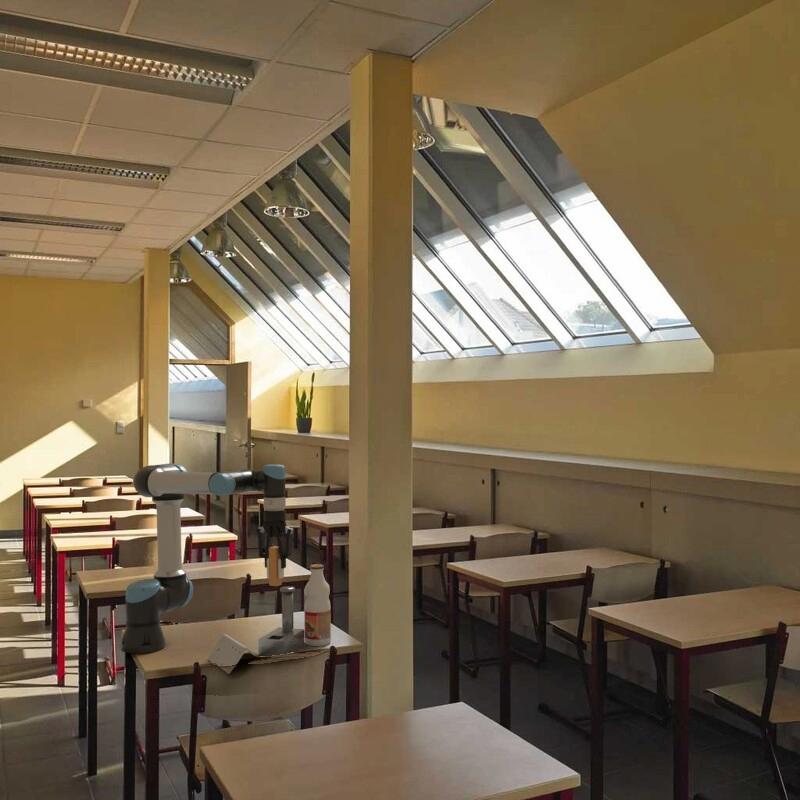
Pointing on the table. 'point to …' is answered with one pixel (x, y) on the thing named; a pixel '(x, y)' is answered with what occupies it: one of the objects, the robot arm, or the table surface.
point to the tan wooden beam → (274, 566)
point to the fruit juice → (317, 608)
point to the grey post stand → (283, 631)
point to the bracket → (228, 651)
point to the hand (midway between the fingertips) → (275, 577)
